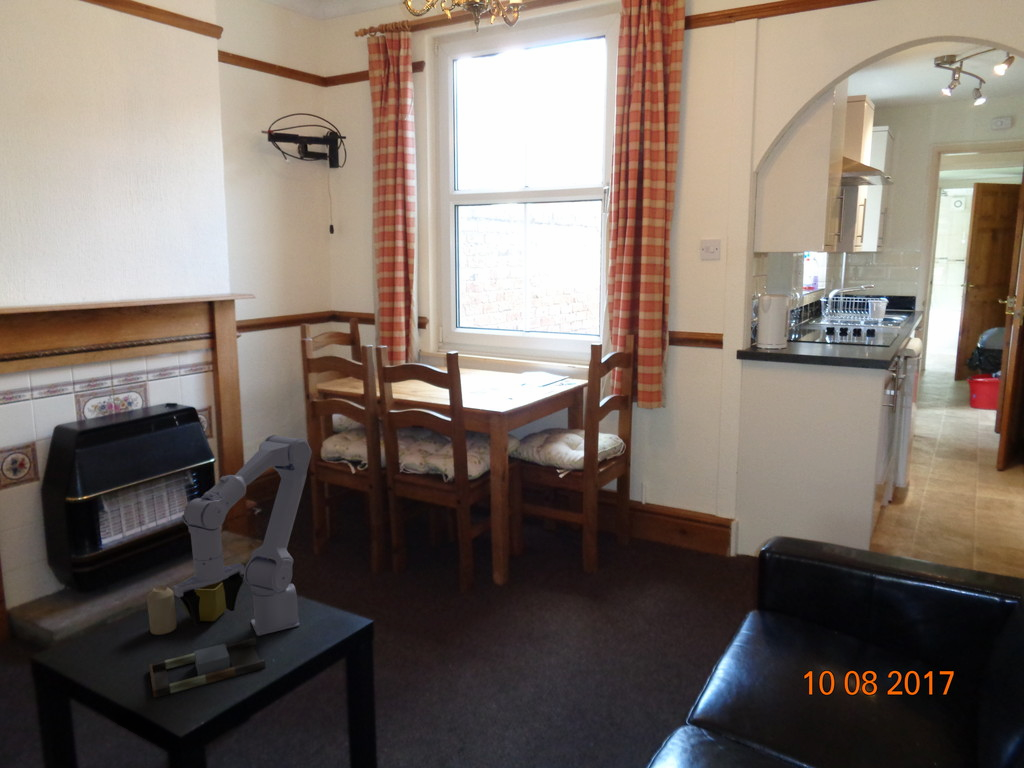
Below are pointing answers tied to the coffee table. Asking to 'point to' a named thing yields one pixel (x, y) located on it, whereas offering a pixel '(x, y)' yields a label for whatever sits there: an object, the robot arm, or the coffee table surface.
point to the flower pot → (211, 601)
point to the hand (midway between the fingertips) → (213, 616)
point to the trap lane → (241, 662)
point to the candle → (161, 610)
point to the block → (211, 659)
